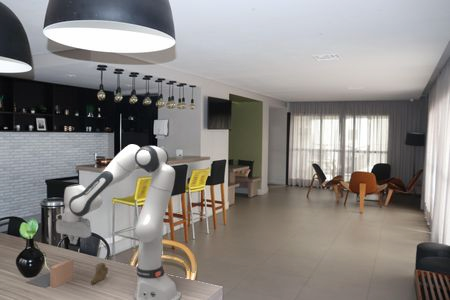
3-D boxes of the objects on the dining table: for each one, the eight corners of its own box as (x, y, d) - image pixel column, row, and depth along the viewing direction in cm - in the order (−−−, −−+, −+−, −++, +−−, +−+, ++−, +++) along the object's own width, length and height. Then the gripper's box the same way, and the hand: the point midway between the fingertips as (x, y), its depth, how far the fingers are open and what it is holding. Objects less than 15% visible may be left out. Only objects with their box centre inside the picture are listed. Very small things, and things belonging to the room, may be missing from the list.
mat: (70, 276, 193) (70, 275, 193) (45, 287, 178) (45, 287, 178) (51, 271, 198) (51, 271, 198) (25, 282, 184) (25, 282, 184)
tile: (73, 278, 189) (73, 260, 189) (54, 287, 178) (54, 268, 178) (69, 277, 191) (68, 259, 190) (50, 286, 180) (49, 267, 179)
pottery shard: (93, 286, 181) (94, 267, 180) (87, 284, 183) (88, 265, 182) (109, 279, 190) (110, 260, 190) (104, 276, 192) (104, 258, 192)
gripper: (94, 217, 178) (94, 245, 179) (63, 213, 186) (63, 239, 187) (84, 220, 173) (84, 248, 173) (53, 215, 181) (53, 242, 181)
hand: (73, 243), depth 180 cm, fingers closed
